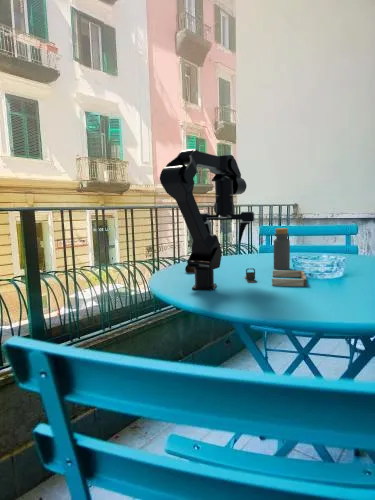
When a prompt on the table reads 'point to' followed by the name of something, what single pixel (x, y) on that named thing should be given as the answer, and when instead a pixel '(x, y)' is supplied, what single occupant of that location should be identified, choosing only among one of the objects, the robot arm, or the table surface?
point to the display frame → (289, 281)
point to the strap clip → (250, 276)
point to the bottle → (281, 249)
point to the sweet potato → (190, 269)
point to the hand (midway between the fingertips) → (225, 243)
